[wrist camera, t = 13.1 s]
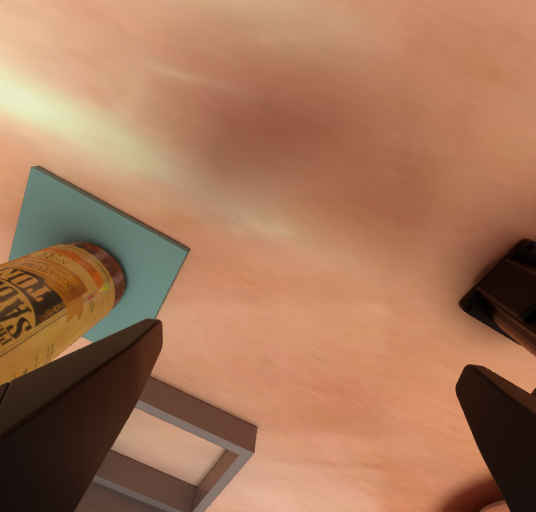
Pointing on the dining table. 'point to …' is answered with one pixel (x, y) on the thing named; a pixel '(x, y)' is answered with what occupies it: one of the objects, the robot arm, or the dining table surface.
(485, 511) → the cereal bowl
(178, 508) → the open lid tray
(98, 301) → the sauce bottle
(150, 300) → the rubber pad
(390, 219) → the dining table surface
